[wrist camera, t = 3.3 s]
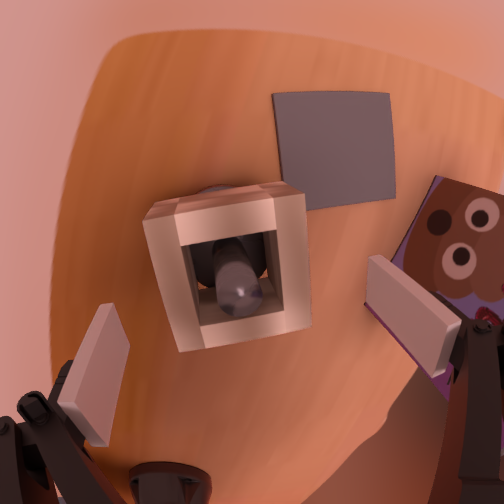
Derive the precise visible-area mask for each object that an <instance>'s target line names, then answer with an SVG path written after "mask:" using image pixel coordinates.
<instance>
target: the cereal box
mask: <svg viewBox="0 0 504 504" xmlns="http://www.w3.org/2000/svg"><path fill="white" fill-rule="evenodd" d="M390 262H391V263H393V264H394V265H395V266H396V267H398V268H399V269H400V270H402V271H403V272H404V273H405V274H407V275H408V276H409V277H410V278H412V279H413V280H414V281H415V282H417V283H418V284H419V285H420V286H422V287H423V288H424V289H425V290H427V291H434V292H436V293H438V294H440V295H442V296H443V297H444V298H445V299H447V301H449V302H450V303H452V304H453V306H455V307H456V308H458V309H459V310H460V311H461V312H462V313H464V314H465V315H466V316H467V317H468V318H470V319H471V320H473V319H482V320H485V321H487V322H489V323H490V324H491V325H492V326H496V325H502V324H503V323H504V195H501V194H498V193H495V192H492V191H489V190H485V189H482V188H479V187H476V186H472V185H469V184H466V183H462V182H459V181H455V180H452V179H448V178H444V177H440V176H437V175H436V176H435V178H434V180H433V182H432V184H431V186H430V188H429V190H428V192H427V194H426V197H425V199H424V201H423V203H422V205H421V207H420V209H419V210H418V212H417V214H416V216H415V218H414V220H413V222H412V224H411V226H410V228H409V229H408V231H407V233H406V235H405V237H404V239H403V240H402V242H401V244H400V246H399V248H398V249H397V251H396V253H395V255H394V256H393V258H392V260H391V261H390ZM364 305H365V306H366V307H367V308H368V309H369V310H370V312H371V313H372V314H373V315H374V316H375V317H376V318H377V319H378V320H379V322H380V323H381V324H382V325H383V326H384V327H385V328H386V329H387V330H388V332H389V333H390V334H391V335H392V336H393V337H394V338H395V339H396V341H397V342H398V343H399V344H400V345H401V346H402V347H403V349H404V350H405V351H406V352H407V353H408V354H409V355H410V357H411V358H412V359H413V360H414V361H415V362H416V364H417V365H418V366H419V367H420V368H421V369H422V371H423V372H424V373H425V374H426V375H427V377H428V378H429V379H430V380H431V381H432V382H433V384H434V385H435V386H436V387H437V388H438V390H439V391H440V392H441V393H442V394H443V396H444V397H445V398H446V399H447V401H448V402H449V394H450V384H451V381H450V383H449V385H447V382H448V379H449V377H450V374H451V372H452V369H453V367H454V366H453V365H452V364H451V363H450V362H449V363H448V365H447V368H446V371H445V372H444V373H442V374H440V375H438V376H436V377H434V378H431V377H430V375H429V374H428V373H427V372H426V371H425V369H424V368H423V367H422V366H421V365H420V363H419V362H418V361H417V360H416V359H415V357H414V356H413V355H412V354H411V353H410V352H409V350H408V349H407V348H406V347H405V346H404V345H403V343H402V342H401V341H400V340H399V339H398V338H397V336H396V335H395V334H394V333H393V332H392V331H391V329H390V328H389V327H388V326H387V325H386V324H385V323H384V321H383V320H382V319H381V318H380V317H379V316H378V315H377V314H376V312H375V311H374V310H373V309H372V308H371V307H370V306H369V305H368V303H367V302H365V303H364ZM502 455H504V422H503V418H502V437H501V456H502Z"/></svg>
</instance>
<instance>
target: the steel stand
mask: <svg viewBox="0 0 504 504" xmlns="http://www.w3.org/2000/svg"><path fill="white" fill-rule="evenodd" d="M231 188H237V187H236V186H232V185H214V186H210V187H207V188H204V189H202V190H200V191H199V192H197V193H196V194H202V193H207V192H213V191H219V190H225V189H231ZM196 194H195V195H196ZM189 247H190V252H191V256H192V261H193V266H194V270H195V275H196V279H197V281H198V282H199V283H201V284H202V285H204V286H206V287H208V288H212V287H216V292H217V300H218V304H219V306H220V308H221V309H222V311H224V312H225V313H226V314H228V315H230V316H234V317H243V316H247V315H250V314H252V313H253V312H254V311H256V310H257V309H258V307H259V306H260V304H261V302H262V299H263V293H262V289H261V287H260V284H259V282H258V278H259V277H260V276H261V275H262V274H263V273H264V271H265V270H266V268H267V264H266V256H265V247H264V239H263V232H258V233H252V234H246V235H240V236H234V237H229V238H223V239H217V240H212V241H206V242H200V243H195V244H189Z"/></svg>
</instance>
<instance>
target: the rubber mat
mask: <svg viewBox="0 0 504 504" xmlns="http://www.w3.org/2000/svg"><path fill="white" fill-rule="evenodd" d="M272 100H273V107H274V115H275V123H276V131H277V140H278V148H279V157H280V166H281V175H282V181H283V182H285V183H286V184H288V185H290V186H292V187H294V188H296V189H297V190H299V191H301V192H303V193H305V204H306V211H308V210H315V209H322V208H328V207H335V206H342V205H349V204H357V203H364V202H371V201H379V200H386V199H394V198H396V182H395V153H394V137H393V124H392V113H391V103H390V94H389V93H378V92H353V91H312V92H287V93H273V94H272Z"/></svg>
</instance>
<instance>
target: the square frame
mask: <svg viewBox="0 0 504 504" xmlns="http://www.w3.org/2000/svg"><path fill="white" fill-rule="evenodd" d="M142 223H143V227H144V232H145V236H146V240H147V244H148V248H149V252H150V256H151V260H152V264H153V267H154V271H155V275H156V279H157V282H158V286H159V289H160V293H161V296H162V300H163V303H164V306H165V310H166V313H167V316H168V320H169V323H170V326H171V329H172V332H173V335H174V338H175V341H176V344H177V347H178V350H179V353H180V352H186V351H193V350H199V349H205V348H211V347H217V346H223V345H229V344H234V343H239V342H245V341H250V340H255V339H260V338H265V337H270V336H274V335H279V334H283V333H288V332H292V331H297V330H301V329H305V328H310V327H312V312H311V285H310V264H309V247H308V231H307V217H306V204H305V193H303V192H301V191H299V190H297V189H296V188H294V187H292V186H290V185H288V184H286V183H285V182H283V181H278V182H271V183H264V184H257V185H250V186H244V187H237V188H231V189H225V190H219V191H213V192H207V193H202V194H196V195H190V196H185V197H180V198H174V199H169V200H164V201H159V202H155V203H154V204H153V206H152V207H151V209H150V210H149V211H148V213H147V214H146V216H145V217H144V219H143V220H142ZM258 232H263V239H264V247H265V256H266V264H267V273H268V277H266V278H261V279H258V282H259V284H260V287H261V289H262V293H263V299H262V302H261V304H260V306H259V307H258V309H257V310H256V311H254V312H253V313H252V314H250V315H247V316H243V317H234V316H230V315H228V314H226V313H225V312H224V311H222V309H221V308H220V306H219V304H218V300H217V292H216V287H212V288H206V289H200V290H199V288H198V284H197V279H196V275H195V270H194V266H193V261H192V256H191V252H190V247H189V244H195V243H200V242H206V241H212V240H217V239H223V238H229V237H234V236H240V235H246V234H252V233H258Z"/></svg>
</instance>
